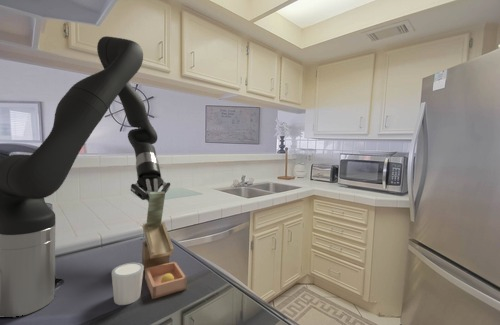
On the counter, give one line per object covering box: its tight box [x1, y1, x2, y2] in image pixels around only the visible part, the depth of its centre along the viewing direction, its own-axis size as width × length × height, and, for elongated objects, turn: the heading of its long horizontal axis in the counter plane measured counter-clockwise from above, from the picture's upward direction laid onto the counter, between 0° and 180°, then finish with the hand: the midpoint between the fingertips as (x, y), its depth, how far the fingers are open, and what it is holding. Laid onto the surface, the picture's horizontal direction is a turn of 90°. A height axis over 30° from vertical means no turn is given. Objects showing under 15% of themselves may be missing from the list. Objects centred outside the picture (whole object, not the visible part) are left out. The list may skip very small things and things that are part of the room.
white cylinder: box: [111, 262, 144, 306], centre depth 55 cm, size 7×7×7 cm
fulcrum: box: [141, 240, 170, 272], centre depth 71 cm, size 7×4×8 cm, turn 124°
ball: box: [161, 273, 174, 283], centre depth 59 cm, size 3×3×3 cm
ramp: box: [142, 191, 175, 259], centre depth 68 cm, size 6×14×13 cm, turn 34°
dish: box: [144, 261, 188, 300], centre depth 61 cm, size 8×10×3 cm
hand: (154, 208), depth 73 cm, fingers closed
